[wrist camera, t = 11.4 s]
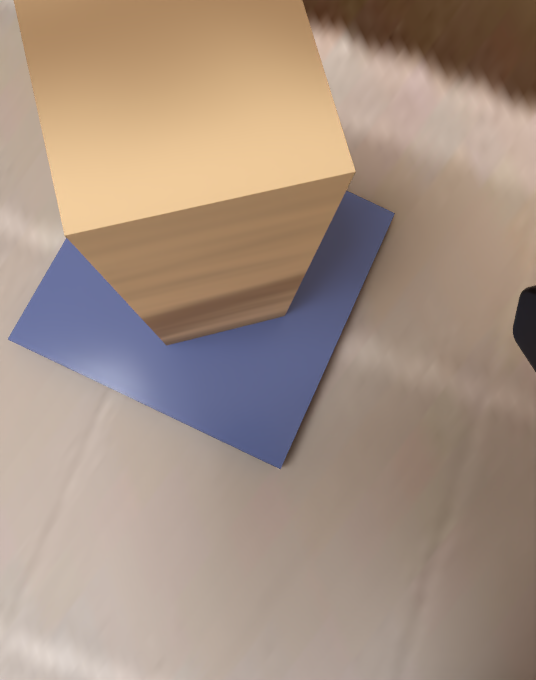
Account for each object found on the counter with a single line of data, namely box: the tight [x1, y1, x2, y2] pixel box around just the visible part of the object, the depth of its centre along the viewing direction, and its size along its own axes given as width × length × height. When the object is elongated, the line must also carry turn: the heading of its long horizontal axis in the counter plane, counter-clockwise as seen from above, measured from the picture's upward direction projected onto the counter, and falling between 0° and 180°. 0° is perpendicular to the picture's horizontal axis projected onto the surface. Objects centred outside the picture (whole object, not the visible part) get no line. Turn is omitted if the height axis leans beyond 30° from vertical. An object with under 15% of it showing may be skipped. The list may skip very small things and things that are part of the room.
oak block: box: [14, 0, 356, 345], centre depth 14 cm, size 5×5×12 cm
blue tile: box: [8, 191, 395, 469], centre depth 21 cm, size 12×12×1 cm
